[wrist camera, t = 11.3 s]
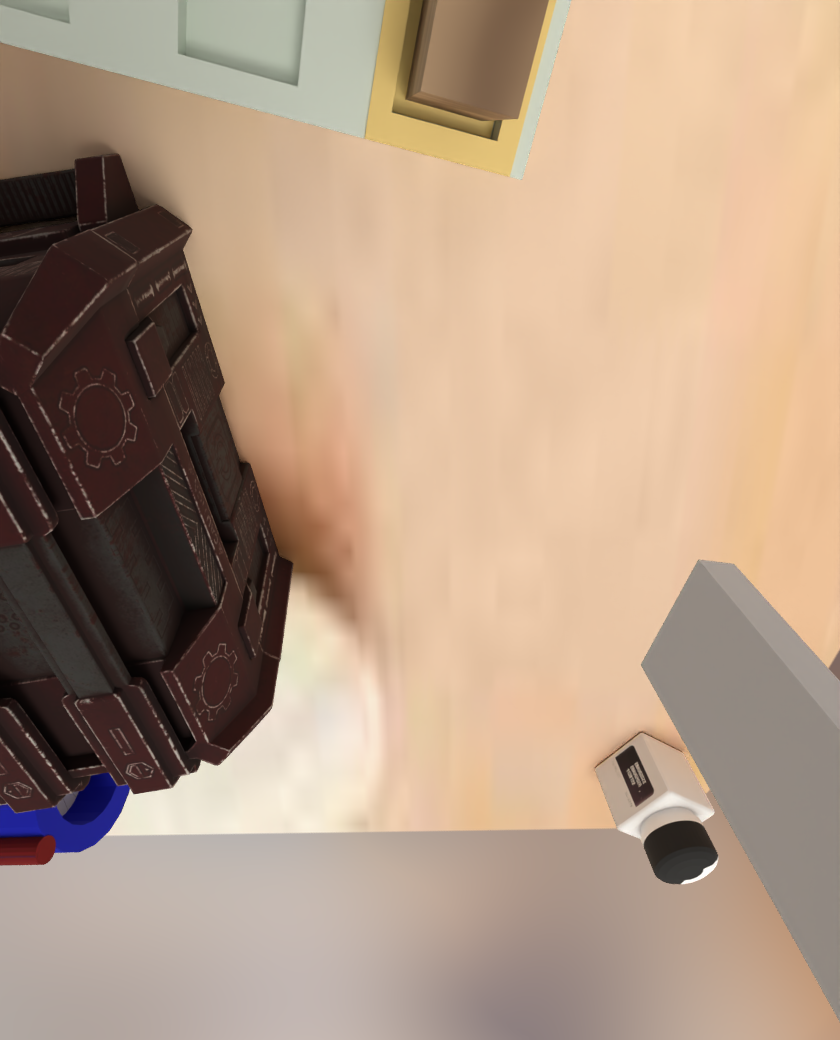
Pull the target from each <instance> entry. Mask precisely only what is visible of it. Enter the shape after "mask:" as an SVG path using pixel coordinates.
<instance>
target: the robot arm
mask: <svg viewBox="0 0 840 1040" xmlns="http://www.w3.org/2000/svg"><path fill="white" fill-rule="evenodd" d="M641 666H642V668H643V670H644V671H645V673H646V675H647V677H648V679H649V680H650V682H651V684H652V686H653V688H654V689H655V691H656V693H657V695H658V697H659V698H660V700H661V702H662V704H663V706H664V707H665V709H666V711H667V713H668V715H669V716H670V718H671V720H672V722H673V723H674V725H675V727H676V729H677V731H678V732H679V734H680V736H681V738H682V740H683V741H684V743H685V745H686V747H687V749H688V750H689V752H690V754H691V756H692V758H693V759H694V761H695V763H696V765H697V767H698V768H699V770H700V772H701V774H702V776H703V777H704V779H705V781H706V783H707V784H708V786H709V788H710V790H711V792H712V793H713V795H714V797H715V799H716V800H717V802H718V804H719V806H720V808H721V810H722V811H723V813H724V815H725V817H726V819H727V820H728V822H729V824H730V826H731V828H732V829H733V831H734V833H735V835H736V836H737V838H738V840H739V842H740V844H741V846H742V847H743V849H744V851H745V853H746V854H747V856H748V858H749V860H750V862H751V863H752V865H753V867H754V869H755V871H756V872H757V874H758V876H759V878H760V880H761V881H762V883H763V885H764V887H765V889H766V890H767V892H768V894H769V896H770V897H771V899H772V901H773V903H774V905H775V906H776V908H777V910H778V911H779V914H780V915H781V917H782V919H783V921H784V923H785V924H786V926H787V928H788V930H789V932H790V933H791V935H792V937H793V939H794V941H795V942H796V944H797V946H798V948H799V950H800V951H801V953H802V955H803V957H804V959H805V960H806V962H807V964H808V966H809V967H810V969H811V971H812V973H813V975H814V976H815V978H816V980H817V982H818V984H819V985H820V987H821V989H822V991H823V993H824V994H825V996H826V998H827V1000H828V1002H829V1003H830V1005H831V1007H832V1009H833V1011H834V1012H835V1014H836V1016H837V1018H838V1020H839V1021H840V681H839V680H838V679H837V678H836V677H835V675H834V674H833V673H832V672H831V671H830V670H829V669H828V668H827V667H826V665H825V664H824V663H823V662H822V661H821V660H820V659H819V658H818V657H817V655H816V654H815V653H814V652H813V651H812V650H811V649H810V648H809V647H808V645H807V644H806V643H805V642H804V641H803V640H802V639H801V638H800V637H799V636H798V634H797V633H796V632H795V631H794V630H793V629H792V628H791V627H790V626H789V624H788V623H787V622H786V621H785V620H784V619H783V618H782V617H781V616H780V614H779V613H778V612H777V611H776V610H775V609H774V608H773V607H772V606H771V604H770V603H769V602H768V601H767V600H766V599H765V598H764V597H763V596H762V594H761V593H760V592H759V591H758V590H757V589H756V588H755V587H754V586H753V584H752V583H751V582H750V581H749V580H748V579H747V578H746V577H745V576H744V575H743V573H742V572H741V571H740V570H739V569H738V568H737V567H736V566H735V565H734V564H731V563H722V562H714V561H706V560H698V561H697V563H696V565H695V567H694V569H693V570H692V572H691V574H690V576H689V578H688V579H687V581H686V583H685V585H684V587H683V589H682V590H681V592H680V594H679V596H678V598H677V600H676V601H675V603H674V605H673V607H672V609H671V611H670V612H669V614H668V616H667V618H666V620H665V621H664V623H663V625H662V627H661V629H660V631H659V632H658V634H657V636H656V638H655V640H654V642H653V643H652V645H651V647H650V649H649V651H648V653H647V654H646V656H645V658H644V660H643V662H642V663H641Z"/></svg>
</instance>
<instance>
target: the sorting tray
mask: <svg viewBox="0 0 840 1040" xmlns="http://www.w3.org/2000/svg"><path fill="white" fill-rule="evenodd" d="M422 2H423V0H0V43H4V44H8V45H12V46H15V47H19V48H23V49H27V50H31V51H34V52H38V53H42V54H46V55H50V56H53V57H57V58H61V59H65V60H69V61H72V62H76V63H80V64H84V65H87V66H91V67H95V68H99V69H103V70H106V71H110V72H114V73H118V74H122V75H125V76H129V77H133V78H137V79H141V80H144V81H148V82H152V83H156V84H160V85H163V86H167V87H171V88H175V89H178V90H182V91H186V92H190V93H194V94H197V95H201V96H205V97H209V98H213V99H216V100H220V101H224V102H228V103H232V104H235V105H239V106H243V107H247V108H250V109H254V110H258V111H262V112H266V113H269V114H273V115H277V116H281V117H285V118H288V119H292V120H296V121H300V122H304V123H307V124H311V125H315V126H319V127H323V128H326V129H330V130H334V131H338V132H341V133H345V134H349V135H353V136H357V137H360V138H364V139H368V140H372V141H376V142H379V143H383V144H387V145H391V146H394V147H398V148H402V149H406V150H410V151H413V152H417V153H421V154H425V155H429V156H432V157H436V158H440V159H444V160H448V161H451V162H455V163H459V164H463V165H466V166H470V167H474V168H478V169H482V170H485V171H489V172H493V173H497V174H501V175H504V176H508V177H512V178H516V179H520V180H522V178H523V175H524V171H525V167H526V164H527V160H528V156H529V153H530V149H531V145H532V142H533V138H534V135H535V131H536V127H537V124H538V120H539V116H540V113H541V109H542V105H543V102H544V98H545V94H546V91H547V87H548V84H549V80H550V76H551V73H552V69H553V65H554V62H555V58H556V54H557V51H558V47H559V43H560V40H561V36H562V32H563V29H564V25H565V22H566V18H567V14H568V11H569V7H570V3H571V0H549V2H548V6H547V10H546V14H545V18H544V22H543V25H542V29H541V33H540V37H539V41H538V45H537V48H536V52H535V56H534V60H533V64H532V68H531V72H530V75H529V79H528V83H527V87H526V91H525V95H524V98H523V102H522V106H521V110H520V114H519V118H518V119H509V120H493V121H479V120H476V119H472V118H469V117H465V116H462V115H458V114H455V113H451V112H447V111H444V110H440V109H437V108H433V107H430V106H426V105H422V104H419V103H415V102H412V101H408V100H405V98H406V93H407V87H408V82H409V76H410V70H411V65H412V59H413V53H414V48H415V42H416V36H417V31H418V25H419V19H420V14H421V8H422Z"/></svg>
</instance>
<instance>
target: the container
mask: <svg viewBox="0 0 840 1040" xmlns="http://www.w3.org/2000/svg"><path fill="white" fill-rule="evenodd" d="M595 772H596V774H597V777H598V779H599V782H600V785H601V787H602V790H603V793H604V795H605V798H606V800H607V803H608V806H609V808H610V811H611V814H612V816H613V819H614V821H615V824H616V827H617V829H618V830H619V831H622V832H624V833H627V834H629V835H632V836H634V837H637V838H639V839H641V841H642V844H643V846H644V849H645V851H646V854H647V856H648V859H649V861H650V864H651V866H652V868H653V871H654V873H655V875H656V877H657V878H659V879H660V880H662V881H663V882H666V883H670V884H687V883H691V882H694V881H697V880H700V879H702V878H703V877H705V876H706V875H708V874H709V873H710V872H711V871H712V870H713V869H714V868H715V867H716V865H717V861H718V854H717V852H716V850H715V848H714V846H713V844H712V842H711V840H710V838H709V836H708V834H707V832H706V830H705V828H704V826H703V824H702V822H703V821H705V820H706V819H707V818H709V817H711V816H712V815H713V814H714V809H713V807H712V805H711V804H710V802H709V800H708V798H707V796H706V794H705V792H704V790H703V788H702V787H701V785H700V783H699V781H698V779H697V777H696V775H695V773H694V772H693V770H692V768H691V766H690V764H689V762H688V760H687V758H686V757H685V755H684V754H683V753H682V752H680V751H678V750H676V749H674V748H672V747H670V746H668V745H666V744H664V743H662V742H660V741H658V740H656V739H654V738H652V737H650V736H648V735H646V734H644V733H640V734H638V735H637V736H636V737H634V738H633V739H632V740H631V741H629V742H628V743H627V744H626V745H624V746H623V747H622V748H620V749H619V750H618V751H617V752H615V753H614V754H613V755H611V756H610V757H609V758H608V759H606V760H605V761H604V762H602V763H601V764H600V765H599V766H597V767H596V768H595Z"/></svg>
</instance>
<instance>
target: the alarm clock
mask: <svg viewBox="0 0 840 1040" xmlns="http://www.w3.org/2000/svg"><path fill="white" fill-rule="evenodd" d="M129 790H130V788H129V786H128V785H122V786H117V785H116V783H115V781H114V780H113V778H112V777H111V775H110V774H109V772H108V773H102V774H96V775H91V777H90V781H89V784H88V785H87V786H86V787H85V789H84V790H83V791H77V792H73V793H72V794H67V795H66V796H65V797H64V798H63V799H62V800H61V801H60V802H59V803H58V804H57V805H56V806H55V807H53V808H46V809H40V810H34V811H28V812H22V813H15V812H14V811H13V810H12V809H11V808H10V806H9V805H8V804H5V805H0V865H44V864H46V863H48V862H49V861H50V860H51V858H52V857H53V855H54V853H62V852H63V853H65V852H81V851H83V850H85V849H87V848H89V847H91V846H93V845H95V844H96V843H97V842H98V841H99V840H100V839H101V838H103V837H104V836H105V835H106V834H107V833H108V832H109V831H110V829H111V828H112V826H113V824H114V823H115V821H116V820H117V818H118V817H119V815H120V813H121V811H122V809H123V806H124V804H125V801H126V799H127V796H128V794H129Z"/></svg>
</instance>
